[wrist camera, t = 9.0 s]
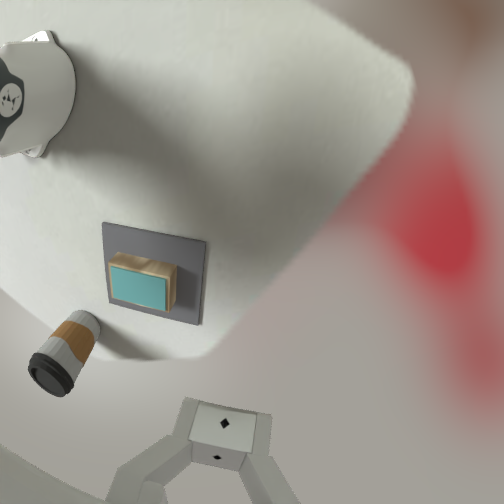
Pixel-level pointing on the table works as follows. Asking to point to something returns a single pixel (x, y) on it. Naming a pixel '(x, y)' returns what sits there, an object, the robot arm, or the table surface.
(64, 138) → the table surface
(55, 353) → the coffee cup
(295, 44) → the table surface
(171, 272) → the plaque
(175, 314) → the mat
